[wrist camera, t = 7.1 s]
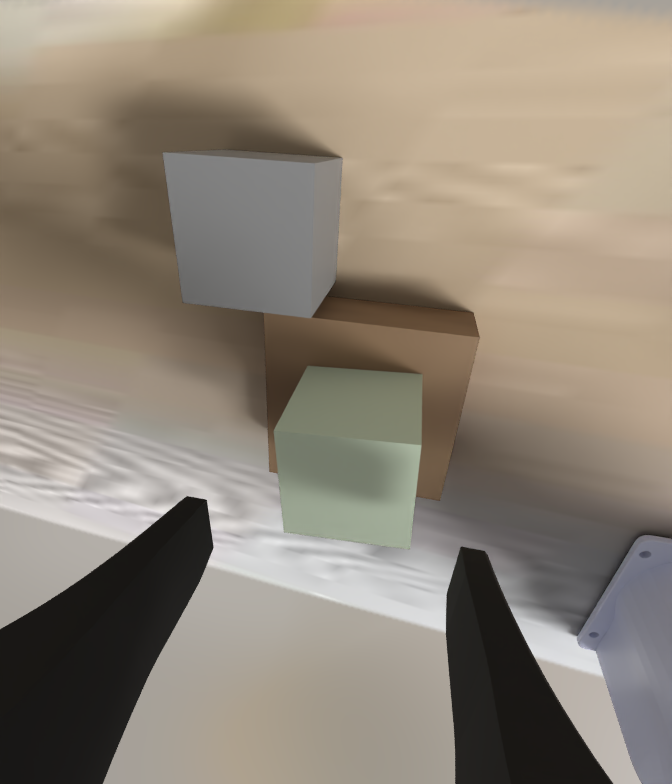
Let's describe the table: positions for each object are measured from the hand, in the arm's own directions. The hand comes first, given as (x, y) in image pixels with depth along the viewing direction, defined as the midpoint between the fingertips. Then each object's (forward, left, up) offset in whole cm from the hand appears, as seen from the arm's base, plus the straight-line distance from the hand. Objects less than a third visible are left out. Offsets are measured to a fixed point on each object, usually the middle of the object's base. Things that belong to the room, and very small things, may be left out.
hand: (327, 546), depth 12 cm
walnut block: (0, 0, -10) cm, 10 cm away
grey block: (+7, +4, -9) cm, 12 cm away
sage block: (0, 0, -7) cm, 7 cm away
